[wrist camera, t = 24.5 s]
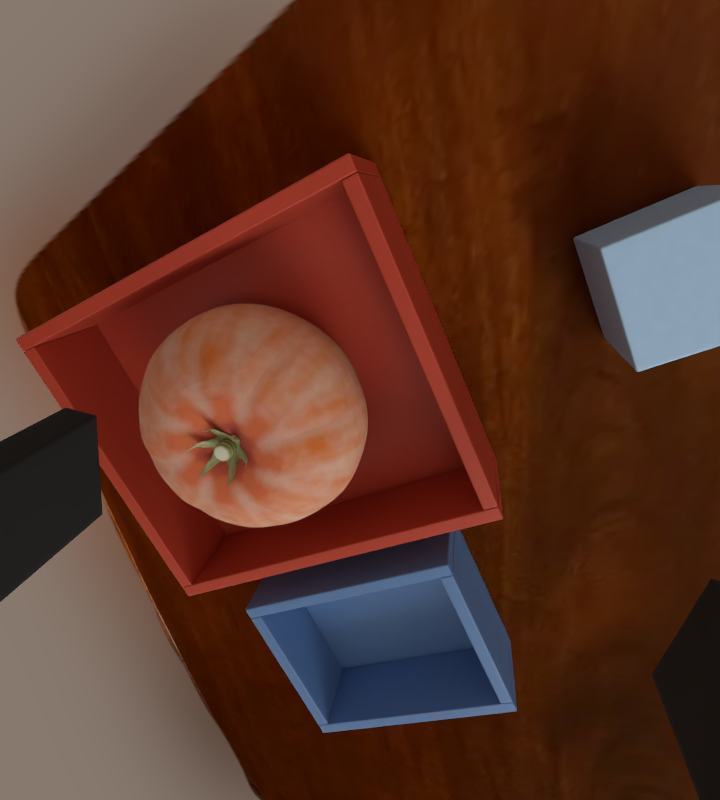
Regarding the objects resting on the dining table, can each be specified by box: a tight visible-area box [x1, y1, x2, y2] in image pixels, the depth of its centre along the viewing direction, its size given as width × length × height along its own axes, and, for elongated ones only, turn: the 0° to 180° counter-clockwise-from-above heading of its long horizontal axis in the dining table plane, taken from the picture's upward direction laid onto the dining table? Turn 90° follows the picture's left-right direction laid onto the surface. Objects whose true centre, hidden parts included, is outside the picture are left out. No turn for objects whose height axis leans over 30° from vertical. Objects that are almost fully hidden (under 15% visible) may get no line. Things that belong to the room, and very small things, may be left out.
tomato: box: [139, 303, 368, 527], centre depth 23 cm, size 11×11×8 cm
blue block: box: [573, 185, 720, 372], centre depth 19 cm, size 5×5×5 cm
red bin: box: [16, 153, 503, 596], centre depth 25 cm, size 16×18×5 cm
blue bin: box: [246, 530, 517, 733], centre depth 30 cm, size 10×12×5 cm
